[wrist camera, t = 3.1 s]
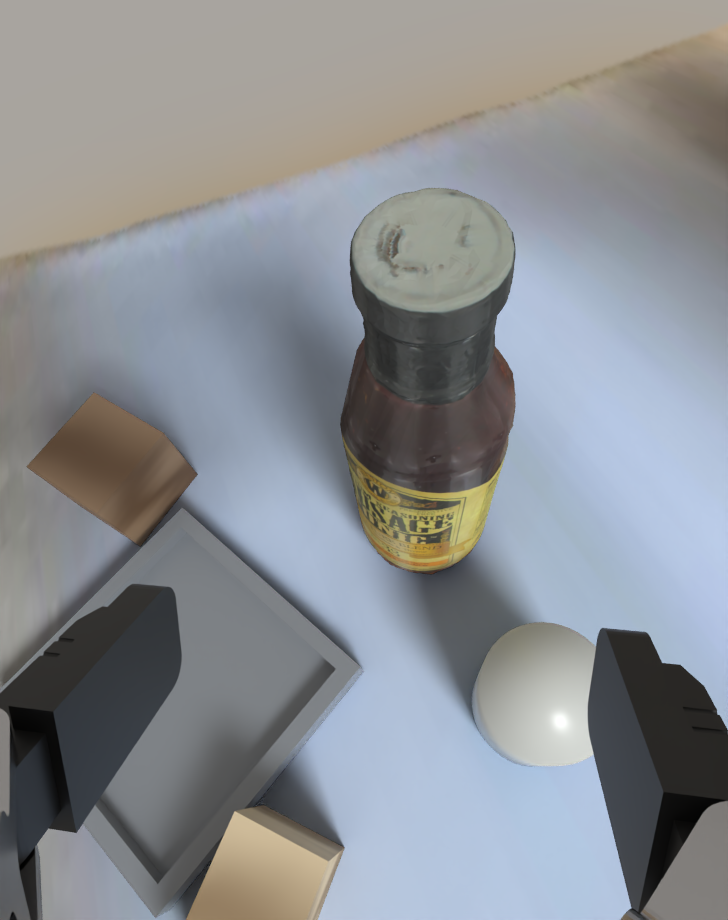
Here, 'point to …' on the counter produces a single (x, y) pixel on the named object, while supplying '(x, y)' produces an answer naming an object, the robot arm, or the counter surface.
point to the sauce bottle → (428, 374)
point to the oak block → (267, 870)
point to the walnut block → (115, 468)
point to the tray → (210, 710)
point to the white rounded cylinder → (536, 695)
